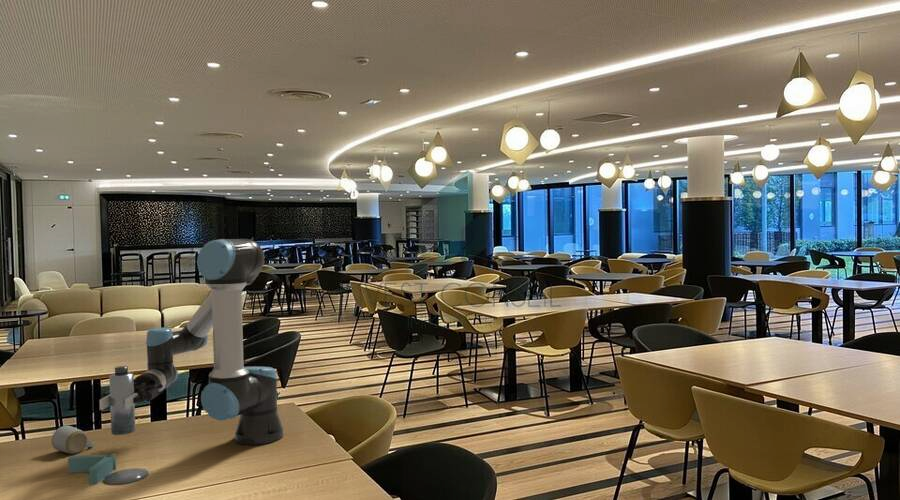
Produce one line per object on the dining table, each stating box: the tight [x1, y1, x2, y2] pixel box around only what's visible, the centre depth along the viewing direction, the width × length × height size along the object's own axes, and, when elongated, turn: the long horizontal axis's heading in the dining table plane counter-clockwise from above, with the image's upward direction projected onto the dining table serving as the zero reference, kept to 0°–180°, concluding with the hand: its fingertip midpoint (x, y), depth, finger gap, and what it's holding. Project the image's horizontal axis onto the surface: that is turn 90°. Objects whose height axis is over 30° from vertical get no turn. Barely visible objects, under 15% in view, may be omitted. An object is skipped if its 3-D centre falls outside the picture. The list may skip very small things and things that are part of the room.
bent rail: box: [67, 453, 117, 485], centre depth 181 cm, size 12×12×4 cm
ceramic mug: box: [50, 425, 95, 455], centre depth 204 cm, size 11×8×8 cm
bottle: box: [108, 365, 136, 436], centre depth 182 cm, size 6×6×18 cm
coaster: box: [103, 467, 149, 486], centre depth 180 cm, size 11×11×1 cm
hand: (113, 404), depth 176 cm, fingers closed on bottle, 6 cm apart
